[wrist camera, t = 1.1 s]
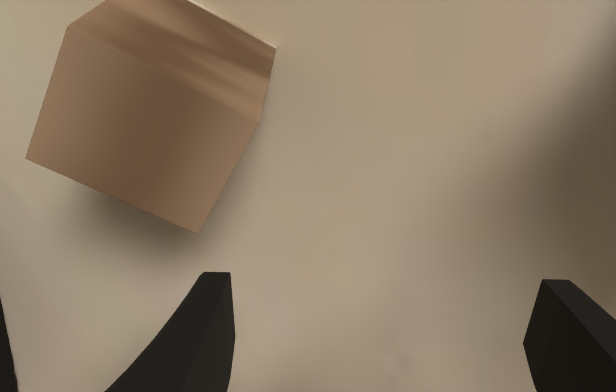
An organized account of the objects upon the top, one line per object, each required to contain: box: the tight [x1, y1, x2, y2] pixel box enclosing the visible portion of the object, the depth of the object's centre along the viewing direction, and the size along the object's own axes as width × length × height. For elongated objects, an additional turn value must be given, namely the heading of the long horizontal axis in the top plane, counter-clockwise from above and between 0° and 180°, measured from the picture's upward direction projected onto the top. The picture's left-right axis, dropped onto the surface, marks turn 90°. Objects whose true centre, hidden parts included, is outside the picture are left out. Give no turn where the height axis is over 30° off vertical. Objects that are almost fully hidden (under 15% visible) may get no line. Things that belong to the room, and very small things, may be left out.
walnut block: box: [25, 0, 277, 234], centre depth 17 cm, size 5×4×7 cm
